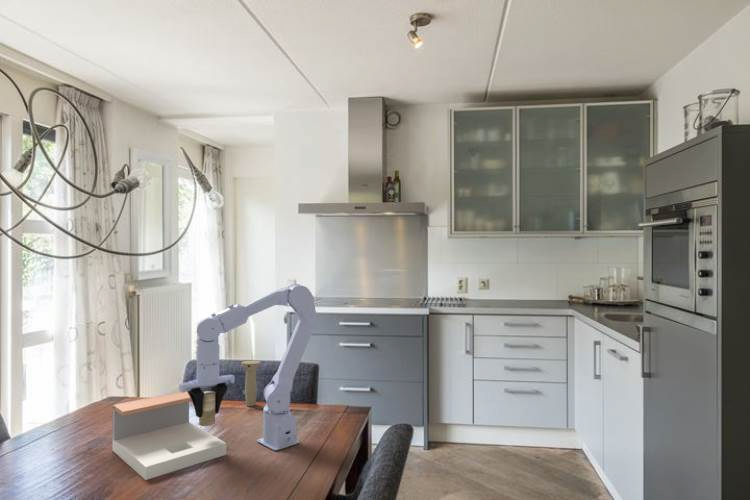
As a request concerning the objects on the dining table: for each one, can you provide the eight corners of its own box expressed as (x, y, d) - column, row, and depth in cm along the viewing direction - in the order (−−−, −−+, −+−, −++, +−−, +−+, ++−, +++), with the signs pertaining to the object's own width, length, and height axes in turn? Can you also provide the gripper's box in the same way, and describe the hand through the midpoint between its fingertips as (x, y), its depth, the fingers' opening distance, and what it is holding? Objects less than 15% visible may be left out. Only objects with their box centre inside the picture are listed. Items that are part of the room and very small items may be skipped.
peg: (217, 423, 126) (218, 393, 126) (203, 427, 123) (203, 396, 123) (210, 419, 129) (211, 390, 129) (196, 423, 126) (197, 393, 126)
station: (226, 454, 123) (226, 408, 123) (145, 480, 109) (146, 427, 109) (186, 430, 140) (187, 390, 140) (112, 450, 126) (112, 404, 126)
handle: (258, 407, 161) (258, 363, 162) (239, 407, 162) (239, 363, 162) (261, 403, 166) (262, 360, 167) (243, 403, 166) (243, 360, 167)
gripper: (226, 357, 134) (225, 405, 134) (174, 364, 124) (173, 417, 124) (238, 360, 129) (238, 411, 129) (185, 369, 119) (185, 423, 119)
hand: (207, 414), depth 126 cm, fingers closed on peg, 4 cm apart
